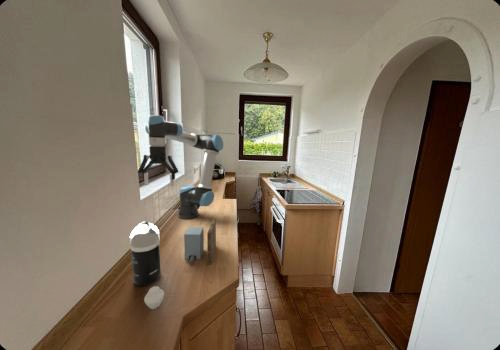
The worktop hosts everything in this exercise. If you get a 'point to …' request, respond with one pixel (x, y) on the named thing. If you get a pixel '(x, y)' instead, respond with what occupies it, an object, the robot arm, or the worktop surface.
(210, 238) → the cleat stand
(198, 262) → the worktop surface
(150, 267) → the black white bottle
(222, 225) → the worktop surface
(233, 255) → the worktop surface
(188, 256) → the mini cabinet
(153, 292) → the white rock
